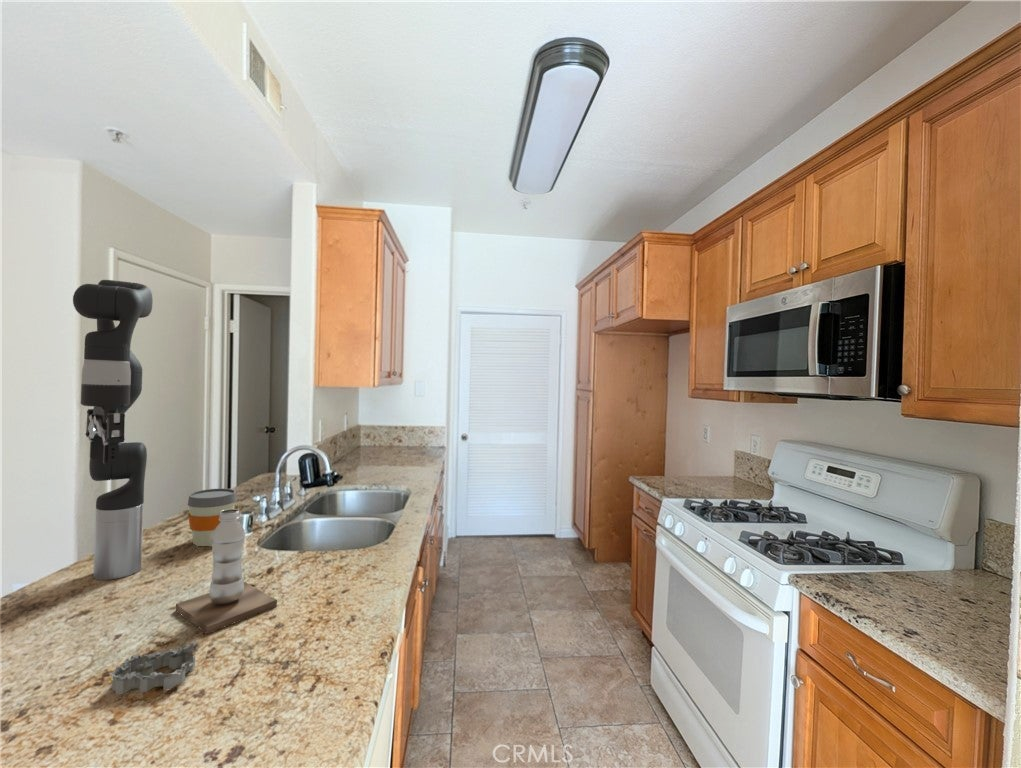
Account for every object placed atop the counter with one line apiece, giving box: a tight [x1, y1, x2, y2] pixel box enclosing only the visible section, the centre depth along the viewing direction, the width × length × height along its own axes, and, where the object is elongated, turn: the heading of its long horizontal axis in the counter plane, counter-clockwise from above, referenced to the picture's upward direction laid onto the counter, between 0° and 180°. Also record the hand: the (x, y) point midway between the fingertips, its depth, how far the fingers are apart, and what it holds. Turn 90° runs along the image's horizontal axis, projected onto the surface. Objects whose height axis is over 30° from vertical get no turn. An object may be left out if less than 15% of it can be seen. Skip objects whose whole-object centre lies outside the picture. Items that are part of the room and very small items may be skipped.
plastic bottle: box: [208, 508, 246, 604], centre depth 99 cm, size 6×7×20 cm
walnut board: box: [175, 580, 278, 634], centre depth 98 cm, size 15×14×2 cm
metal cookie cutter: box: [108, 643, 199, 695], centre depth 75 cm, size 11×8×4 cm
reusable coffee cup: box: [187, 487, 237, 547], centre depth 137 cm, size 13×13×15 cm
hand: (103, 461), depth 92 cm, fingers open, 8 cm apart
